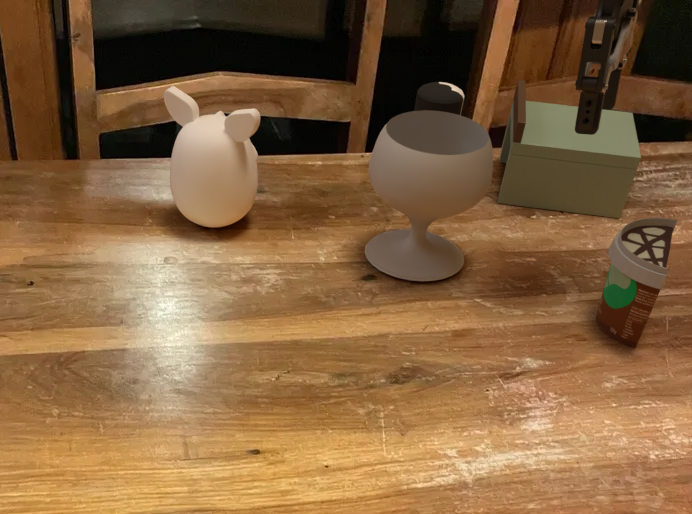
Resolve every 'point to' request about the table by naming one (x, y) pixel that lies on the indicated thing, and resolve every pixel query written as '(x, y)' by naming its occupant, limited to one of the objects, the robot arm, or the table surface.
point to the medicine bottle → (439, 98)
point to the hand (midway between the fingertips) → (594, 120)
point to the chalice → (427, 188)
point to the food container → (634, 277)
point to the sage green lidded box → (567, 159)
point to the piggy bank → (212, 162)
